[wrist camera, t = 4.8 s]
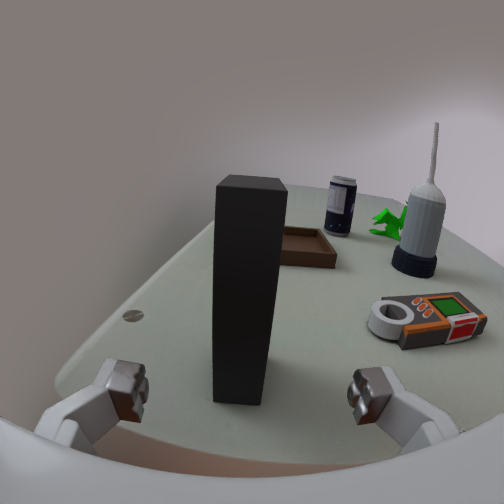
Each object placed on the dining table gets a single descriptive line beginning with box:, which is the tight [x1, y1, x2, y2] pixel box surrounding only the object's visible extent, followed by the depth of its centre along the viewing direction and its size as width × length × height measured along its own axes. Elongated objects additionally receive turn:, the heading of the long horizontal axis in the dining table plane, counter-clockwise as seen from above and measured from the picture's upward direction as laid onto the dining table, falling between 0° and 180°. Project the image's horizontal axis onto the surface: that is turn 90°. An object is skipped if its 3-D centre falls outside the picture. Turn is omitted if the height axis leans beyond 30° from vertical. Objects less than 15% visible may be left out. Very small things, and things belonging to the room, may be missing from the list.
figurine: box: [369, 201, 408, 241], centre depth 60 cm, size 6×12×9 cm, turn 69°
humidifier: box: [391, 122, 446, 278], centre depth 39 cm, size 8×8×25 cm
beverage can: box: [324, 176, 357, 236], centre depth 57 cm, size 6×6×12 cm
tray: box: [280, 226, 337, 268], centre depth 47 cm, size 17×13×2 cm
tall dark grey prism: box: [212, 175, 288, 405], centre depth 18 cm, size 3×6×14 cm, turn 178°
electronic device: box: [368, 292, 487, 350], centre depth 26 cm, size 7×3×15 cm
